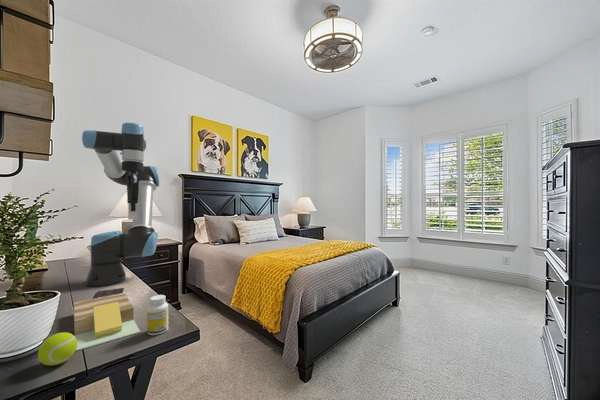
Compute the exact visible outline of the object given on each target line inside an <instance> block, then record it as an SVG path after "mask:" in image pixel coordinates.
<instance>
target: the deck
mask: <svg viewBox="0 0 600 400" xmlns="http://www.w3.org/2000/svg"><path fill="white" fill-rule="evenodd" d="M114 302H119V308H120V314H121V321H122V323H123V322H127V321H131V320H134V306H133V305H132V302H131V301H130V300H129V298H128V296H127V295H126V293H125V292H123V293H121V294H116V295H111V296H106V297H100V298H95V299H93V298H91V299H85V300H81V301H76V302H73V326H74V327H73V328H74V330H73V331H74V336H75V335H77V334H81V333H84V332H88V331H92V330H94V316H93V307H95V306H100V305H105V304H109V303H114Z"/></svg>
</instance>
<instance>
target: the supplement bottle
mask: <svg viewBox="0 0 600 400" xmlns="http://www.w3.org/2000/svg"><path fill="white" fill-rule="evenodd" d="M166 299H167V298H166V295H164V294H158V295H154V296H151V297H149V305H148V307H147V308H146V309H147V311H146V318H147V319H146V321H147V322H146V323H147V324H146V326H147V328H146V330H147V331H146V332H147V334H148V335H149V336H158V335H162V334H164V333H166V332H168V330H169V327H170V326H169V325H170V323H169V318H170V317H169V304H168V303H167V302H166Z"/></svg>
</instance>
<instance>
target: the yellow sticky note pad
mask: <svg viewBox="0 0 600 400" xmlns="http://www.w3.org/2000/svg"><path fill="white" fill-rule="evenodd" d="M93 316H94V330H95V338H97V337H100V336H104V335H108V334H111V333H115V332H118V331H122V321H121V314H120V308H119V302H114V303H109V304H105V305H100V306H95V307H93Z"/></svg>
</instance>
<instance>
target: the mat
mask: <svg viewBox="0 0 600 400" xmlns="http://www.w3.org/2000/svg"><path fill="white" fill-rule="evenodd" d="M140 333H141V330H140V328H139V326H138V325H137V323H136V321H135V320H134V319H133V320H131V321H127V322H123V323H122V331H118V332H115V333H111V334H108V335H104V336H100V337H97V338H95V330H92V331H88V332H84V333H81V334H77V335H75V334H74V336H75V337H76V339H77V348H76V351H75V352H77V351H78V352H79V351H81V350H82V351H83V350H85V349H88V348H91V347H96V346H100V345H102V344H105V343H108V342H112V341H115V340H120V339H123V338H126V337H129V336H133V335H136V334H140Z"/></svg>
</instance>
